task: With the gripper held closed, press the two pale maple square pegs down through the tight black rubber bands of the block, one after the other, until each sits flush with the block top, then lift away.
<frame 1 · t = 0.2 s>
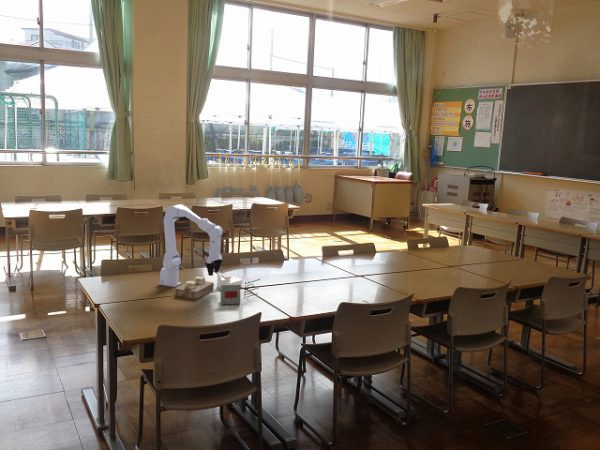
hand: (213, 273, 297), 10 cm above the table, tool pointing down, fingers open, 7 cm apart
peg a: (199, 281, 297), point 5 cm above the table, slide at 3.0 cm
bracket: (229, 286, 311), on the table
peg b: (190, 285, 288), point 5 cm above the table, slide at 3.0 cm
voltmeter: (240, 301, 286), on the table
band block: (194, 292, 294), on the table
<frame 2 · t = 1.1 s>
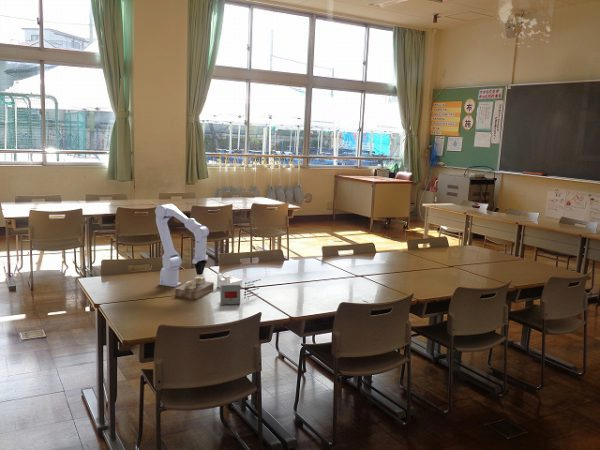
hand: (199, 274, 297), 9 cm above the table, tool pointing down, fingers closed
nothing on the table moved.
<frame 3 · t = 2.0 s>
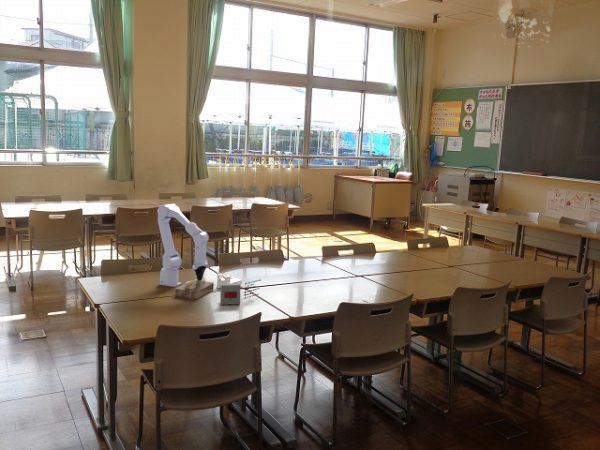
hand: (199, 279, 297), 6 cm above the table, tool pointing down, fingers closed, pressing on peg a
peg a: (199, 283, 298), point 4 cm above the table, slide at 1.9 cm, touching gripper
everything else where it was.
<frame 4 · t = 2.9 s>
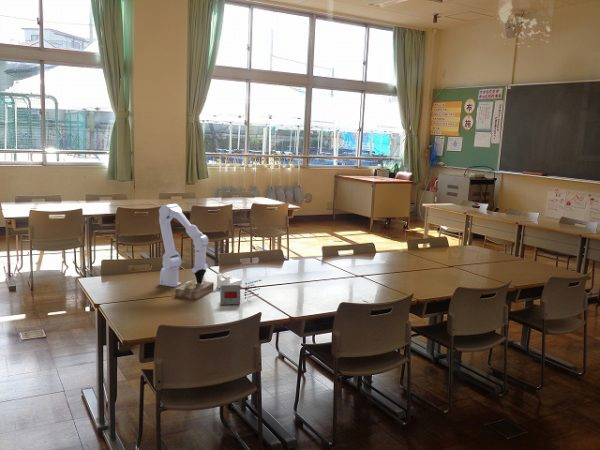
hand: (199, 283, 298), 4 cm above the table, tool pointing down, fingers closed
peg a: (199, 286, 298), point 2 cm above the table, slide at 0.0 cm
everything else where it was.
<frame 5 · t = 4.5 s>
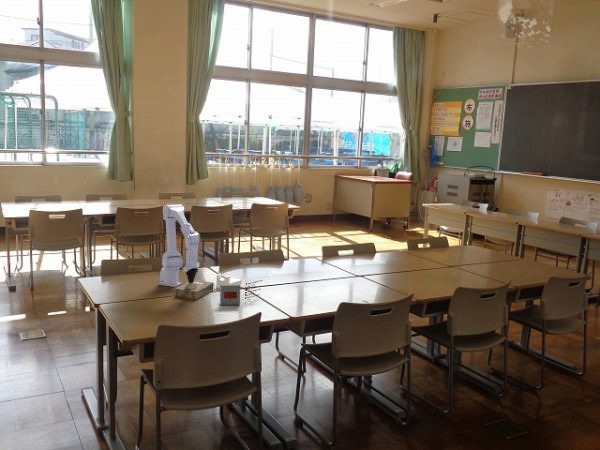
hand: (190, 282, 288), 7 cm above the table, tool pointing down, fingers closed, pressing on peg b
peg b: (190, 286, 288), point 5 cm above the table, slide at 2.8 cm, touching gripper
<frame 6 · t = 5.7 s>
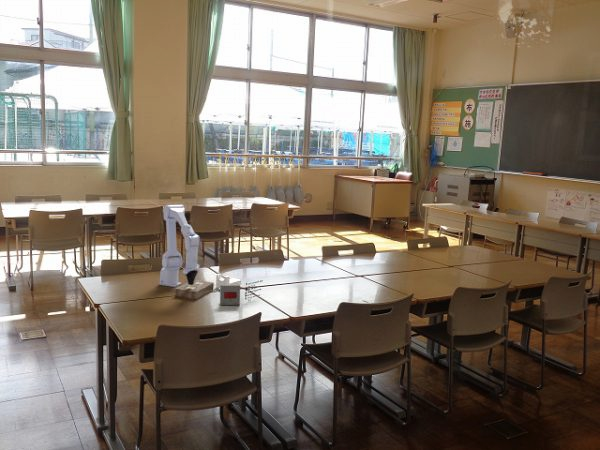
hand: (190, 284, 288), 6 cm above the table, tool pointing down, fingers closed
peg b: (190, 291, 288), point 2 cm above the table, slide at 0.0 cm
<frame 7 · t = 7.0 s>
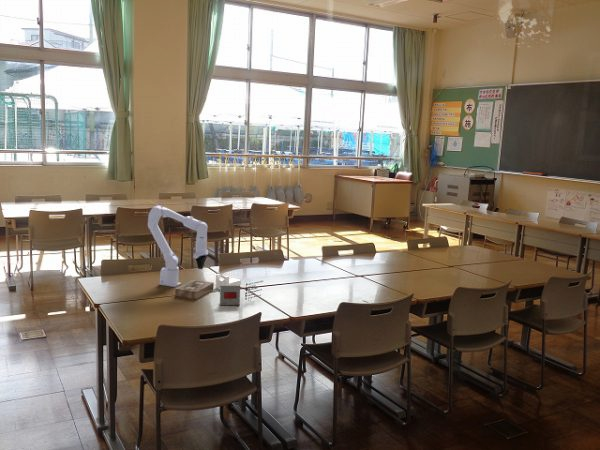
hand: (200, 268, 306), 9 cm above the table, tool pointing down, fingers closed
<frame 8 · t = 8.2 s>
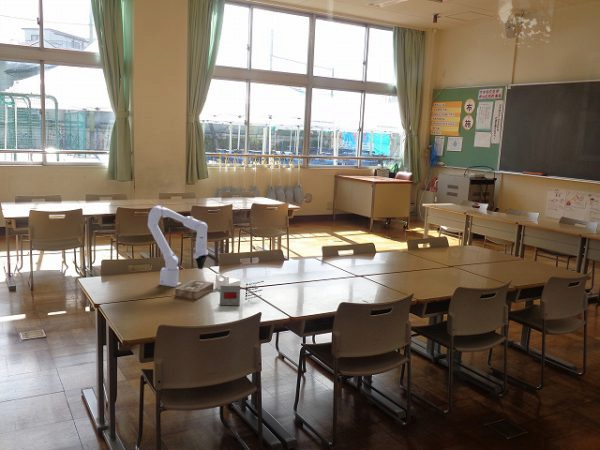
hand: (200, 268, 306), 9 cm above the table, tool pointing down, fingers closed
at the end: peg a slide at 0.0 cm; peg b slide at 0.0 cm; bracket moved 1.9 cm from its start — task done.
